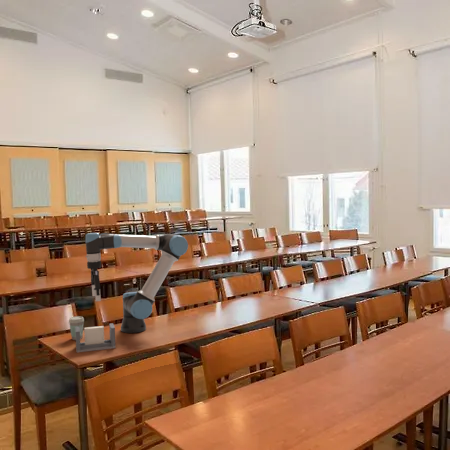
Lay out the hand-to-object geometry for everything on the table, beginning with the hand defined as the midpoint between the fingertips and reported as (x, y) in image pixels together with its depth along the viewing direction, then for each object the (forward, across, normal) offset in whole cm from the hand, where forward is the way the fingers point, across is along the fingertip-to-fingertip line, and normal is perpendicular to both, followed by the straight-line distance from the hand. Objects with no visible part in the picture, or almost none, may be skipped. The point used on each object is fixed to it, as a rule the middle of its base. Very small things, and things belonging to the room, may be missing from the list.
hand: (96, 298), depth 269 cm
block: (+23, +10, -4) cm, 26 cm away
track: (+24, +10, -4) cm, 27 cm away
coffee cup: (+24, -11, -11) cm, 29 cm away
